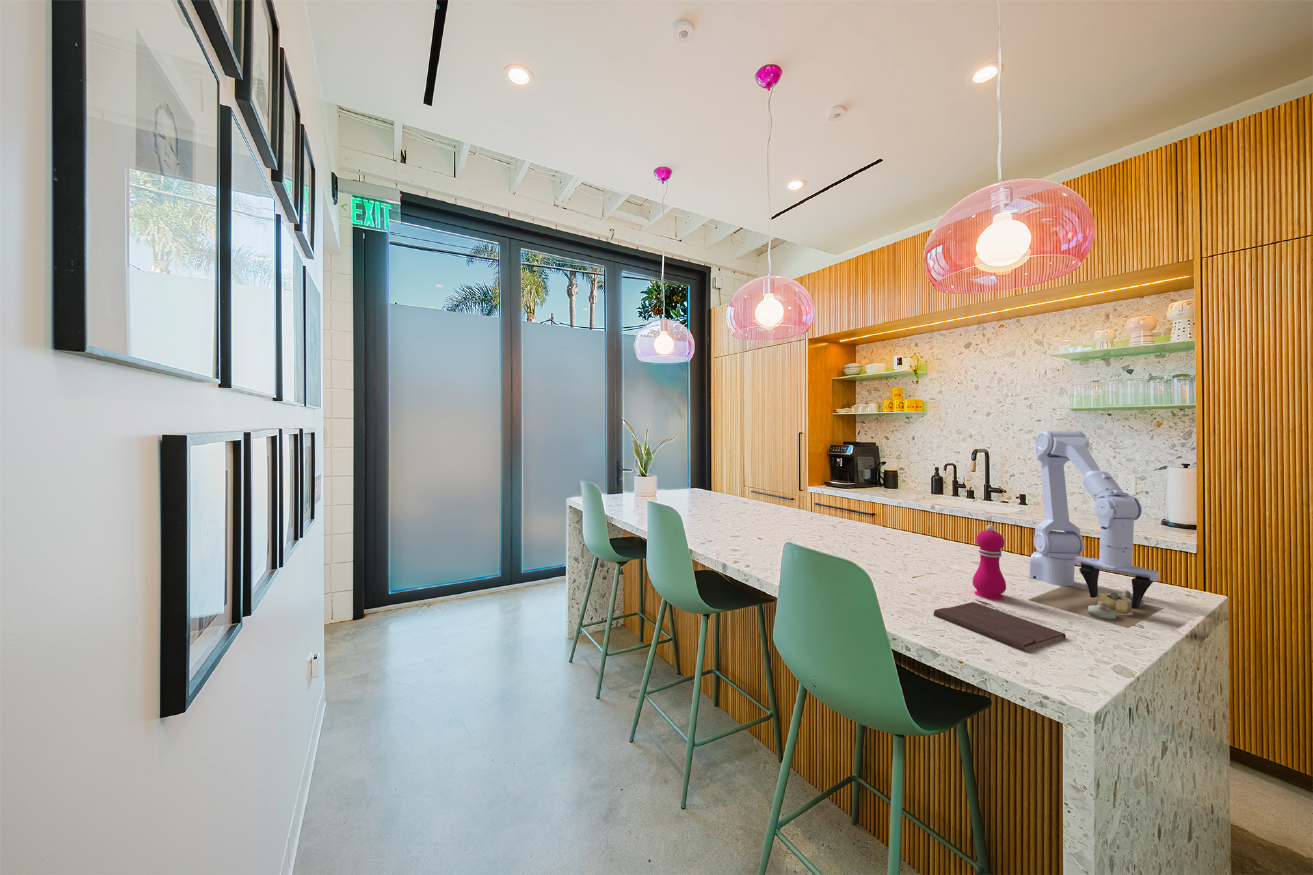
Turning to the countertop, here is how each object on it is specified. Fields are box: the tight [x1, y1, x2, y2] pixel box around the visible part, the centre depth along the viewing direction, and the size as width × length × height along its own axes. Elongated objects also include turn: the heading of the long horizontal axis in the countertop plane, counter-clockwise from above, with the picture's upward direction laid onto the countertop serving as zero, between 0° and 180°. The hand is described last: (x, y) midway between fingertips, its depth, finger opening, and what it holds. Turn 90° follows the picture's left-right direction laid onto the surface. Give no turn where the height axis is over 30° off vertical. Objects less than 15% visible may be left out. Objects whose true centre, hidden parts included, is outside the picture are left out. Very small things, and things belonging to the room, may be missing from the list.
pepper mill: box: [972, 524, 1007, 606], centre depth 125 cm, size 7×7×20 cm
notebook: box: [933, 601, 1067, 653], centre depth 110 cm, size 15×20×2 cm
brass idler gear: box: [1097, 592, 1131, 614], centre depth 115 cm, size 5×5×3 cm
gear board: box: [1027, 585, 1164, 629], centre depth 119 cm, size 19×22×6 cm
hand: (1114, 601), depth 115 cm, fingers open, 7 cm apart
